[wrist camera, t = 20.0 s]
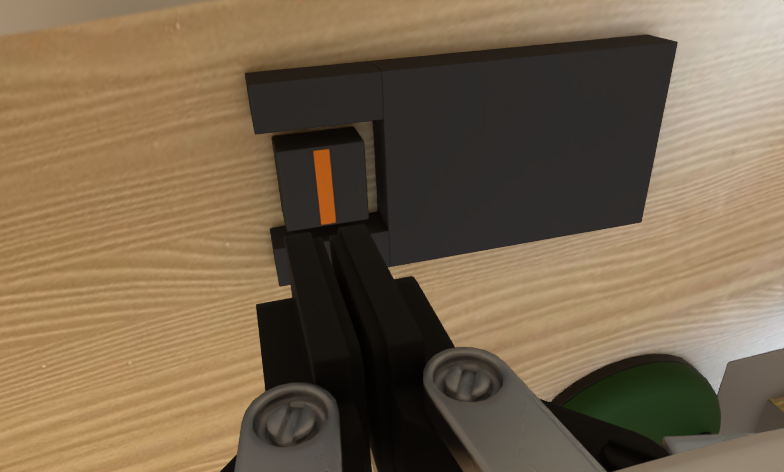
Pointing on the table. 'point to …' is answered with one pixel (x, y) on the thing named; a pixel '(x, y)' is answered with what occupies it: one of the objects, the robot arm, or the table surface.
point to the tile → (321, 177)
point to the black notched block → (486, 140)
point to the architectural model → (753, 394)
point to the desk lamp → (648, 397)
